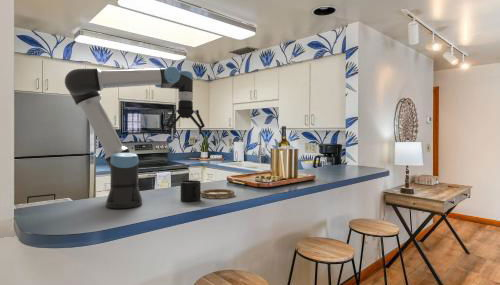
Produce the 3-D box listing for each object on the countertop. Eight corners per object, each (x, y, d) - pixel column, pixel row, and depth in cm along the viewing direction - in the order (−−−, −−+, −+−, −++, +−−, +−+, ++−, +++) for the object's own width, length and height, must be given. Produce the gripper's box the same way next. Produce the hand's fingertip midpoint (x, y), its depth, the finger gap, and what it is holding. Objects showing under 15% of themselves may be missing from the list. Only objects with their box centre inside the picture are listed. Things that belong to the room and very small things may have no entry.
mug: (186, 203, 139) (186, 183, 139) (177, 199, 149) (177, 181, 149) (205, 201, 144) (206, 182, 144) (196, 197, 154) (196, 179, 154)
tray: (203, 199, 150) (203, 194, 150) (199, 193, 166) (199, 189, 166) (237, 197, 155) (237, 193, 155) (230, 192, 171) (230, 188, 171)
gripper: (161, 98, 157) (160, 140, 157) (209, 100, 164) (209, 140, 164) (161, 100, 164) (161, 140, 164) (208, 102, 171) (207, 140, 171)
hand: (185, 140), depth 164 cm, fingers open, 13 cm apart
